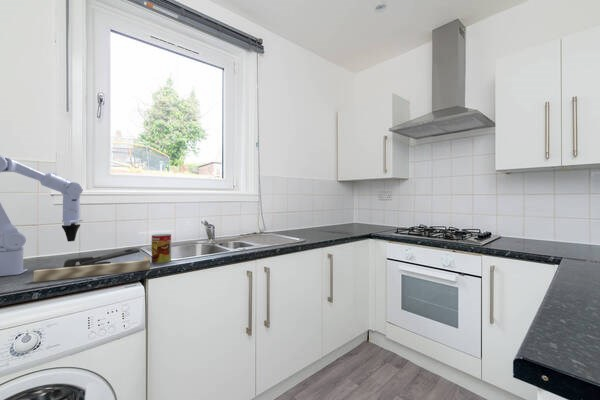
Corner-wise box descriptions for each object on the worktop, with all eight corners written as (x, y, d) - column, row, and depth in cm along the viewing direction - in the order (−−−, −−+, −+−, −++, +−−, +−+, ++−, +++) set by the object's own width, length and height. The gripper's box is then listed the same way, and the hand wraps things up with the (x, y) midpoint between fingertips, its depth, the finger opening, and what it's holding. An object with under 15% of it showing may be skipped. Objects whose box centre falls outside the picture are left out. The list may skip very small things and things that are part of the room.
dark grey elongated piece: (141, 249, 116) (64, 258, 98) (141, 265, 116) (64, 276, 98) (135, 247, 122) (61, 255, 104) (135, 262, 122) (61, 272, 104)
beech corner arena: (33, 282, 91) (33, 271, 91) (46, 273, 102) (46, 264, 102) (150, 269, 107) (150, 260, 107) (149, 263, 119) (149, 255, 119)
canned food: (149, 261, 123) (149, 234, 124) (168, 258, 129) (168, 233, 129) (154, 263, 118) (154, 236, 118) (173, 261, 123) (173, 234, 123)
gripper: (79, 210, 114) (79, 242, 114) (86, 209, 127) (86, 238, 127) (57, 210, 111) (57, 243, 111) (66, 209, 124) (66, 239, 123)
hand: (71, 241), depth 119 cm, fingers closed
